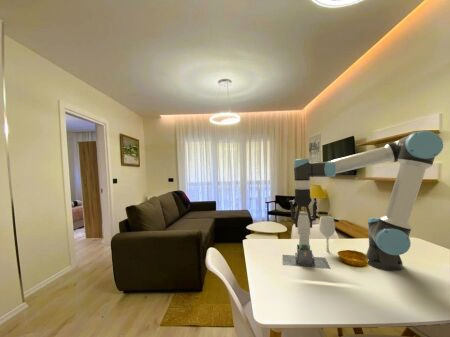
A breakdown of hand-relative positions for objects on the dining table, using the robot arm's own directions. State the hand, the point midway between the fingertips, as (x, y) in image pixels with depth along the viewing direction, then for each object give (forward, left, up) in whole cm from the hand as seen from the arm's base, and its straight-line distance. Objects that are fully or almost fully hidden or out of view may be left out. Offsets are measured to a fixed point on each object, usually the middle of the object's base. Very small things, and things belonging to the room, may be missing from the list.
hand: (303, 233), depth 113 cm
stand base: (0, 0, -15) cm, 15 cm away
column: (0, 0, -8) cm, 8 cm away
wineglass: (-14, -16, -15) cm, 26 cm away
